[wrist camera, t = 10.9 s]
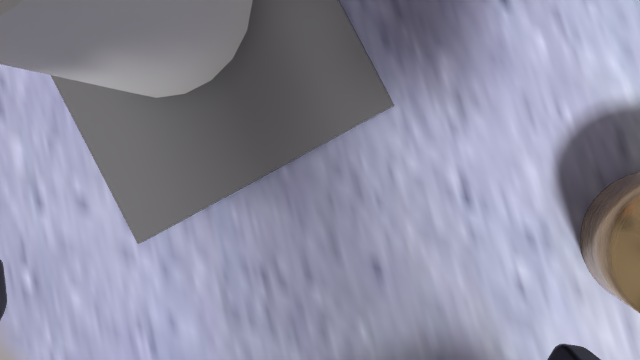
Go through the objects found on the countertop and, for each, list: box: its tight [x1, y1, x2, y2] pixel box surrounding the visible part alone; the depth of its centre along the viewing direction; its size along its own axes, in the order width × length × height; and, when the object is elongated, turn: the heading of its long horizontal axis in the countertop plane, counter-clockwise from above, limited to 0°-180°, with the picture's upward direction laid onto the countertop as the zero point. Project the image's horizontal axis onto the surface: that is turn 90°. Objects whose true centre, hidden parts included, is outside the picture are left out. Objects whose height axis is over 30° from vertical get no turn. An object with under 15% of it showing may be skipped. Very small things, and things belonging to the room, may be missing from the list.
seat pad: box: [51, 0, 394, 244], centre depth 19 cm, size 14×12×1 cm
